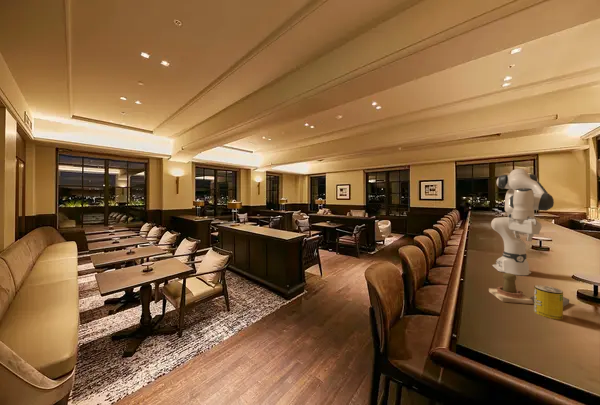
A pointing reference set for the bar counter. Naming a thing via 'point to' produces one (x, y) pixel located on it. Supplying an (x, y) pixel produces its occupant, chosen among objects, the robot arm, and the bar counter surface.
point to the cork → (509, 283)
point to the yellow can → (548, 302)
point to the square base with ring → (510, 296)
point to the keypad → (565, 300)
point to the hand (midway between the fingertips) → (522, 239)
